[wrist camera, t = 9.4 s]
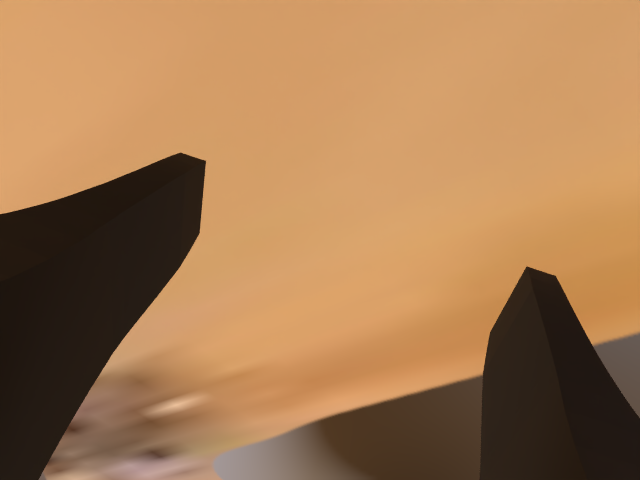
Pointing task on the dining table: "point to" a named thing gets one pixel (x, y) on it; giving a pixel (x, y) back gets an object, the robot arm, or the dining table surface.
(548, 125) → the dining table surface
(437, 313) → the dining table surface
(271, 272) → the dining table surface
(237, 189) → the dining table surface
